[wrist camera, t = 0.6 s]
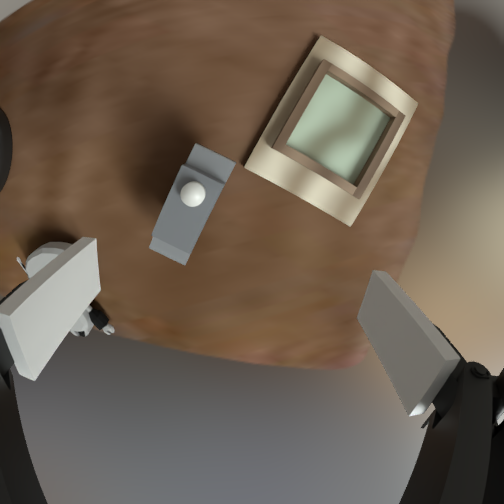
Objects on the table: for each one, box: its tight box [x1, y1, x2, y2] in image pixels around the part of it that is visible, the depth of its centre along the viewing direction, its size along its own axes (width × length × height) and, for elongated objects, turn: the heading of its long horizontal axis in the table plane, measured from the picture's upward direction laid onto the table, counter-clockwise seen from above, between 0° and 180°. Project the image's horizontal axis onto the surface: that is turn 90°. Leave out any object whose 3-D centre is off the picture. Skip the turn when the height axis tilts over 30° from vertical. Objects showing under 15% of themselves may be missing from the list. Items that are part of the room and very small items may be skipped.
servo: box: [149, 143, 236, 265], centre depth 28 cm, size 4×11×9 cm, turn 152°
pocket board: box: [244, 36, 418, 227], centre depth 28 cm, size 14×18×2 cm
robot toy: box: [17, 242, 114, 337], centre depth 35 cm, size 12×4×15 cm
